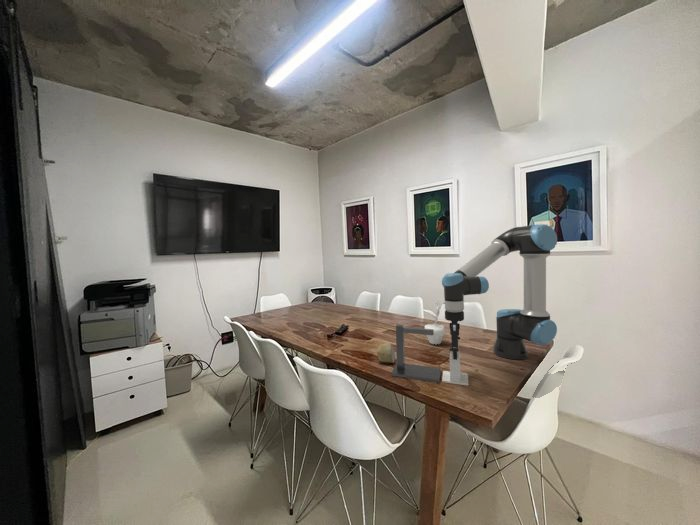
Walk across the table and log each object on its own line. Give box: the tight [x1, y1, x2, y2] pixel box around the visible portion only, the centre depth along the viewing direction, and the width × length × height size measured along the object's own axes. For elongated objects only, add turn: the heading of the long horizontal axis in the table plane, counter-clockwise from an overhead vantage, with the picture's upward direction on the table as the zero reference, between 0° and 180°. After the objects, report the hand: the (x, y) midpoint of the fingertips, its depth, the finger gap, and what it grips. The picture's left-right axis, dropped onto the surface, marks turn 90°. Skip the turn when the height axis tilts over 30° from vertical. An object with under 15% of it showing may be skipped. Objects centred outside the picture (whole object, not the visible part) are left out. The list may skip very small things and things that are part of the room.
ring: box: [449, 351, 461, 382], centre depth 115 cm, size 4×9×9 cm, turn 158°
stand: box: [391, 323, 442, 383], centre depth 120 cm, size 20×12×21 cm, turn 68°
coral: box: [376, 342, 396, 364], centre depth 135 cm, size 10×10×10 cm
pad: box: [441, 370, 469, 386], centre depth 115 cm, size 10×10×1 cm
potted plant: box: [421, 301, 446, 345], centre depth 160 cm, size 13×12×25 cm
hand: (455, 360), depth 115 cm, fingers open, 13 cm apart
